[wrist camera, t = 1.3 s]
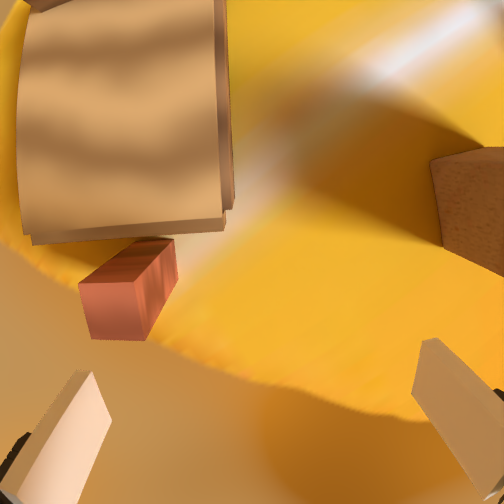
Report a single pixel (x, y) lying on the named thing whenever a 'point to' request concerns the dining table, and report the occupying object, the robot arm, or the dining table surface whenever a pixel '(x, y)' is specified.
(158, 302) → the reddish-brown wooden bar
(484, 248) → the wooden block
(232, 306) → the dining table surface
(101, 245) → the dining table surface
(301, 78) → the dining table surface
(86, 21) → the lid
